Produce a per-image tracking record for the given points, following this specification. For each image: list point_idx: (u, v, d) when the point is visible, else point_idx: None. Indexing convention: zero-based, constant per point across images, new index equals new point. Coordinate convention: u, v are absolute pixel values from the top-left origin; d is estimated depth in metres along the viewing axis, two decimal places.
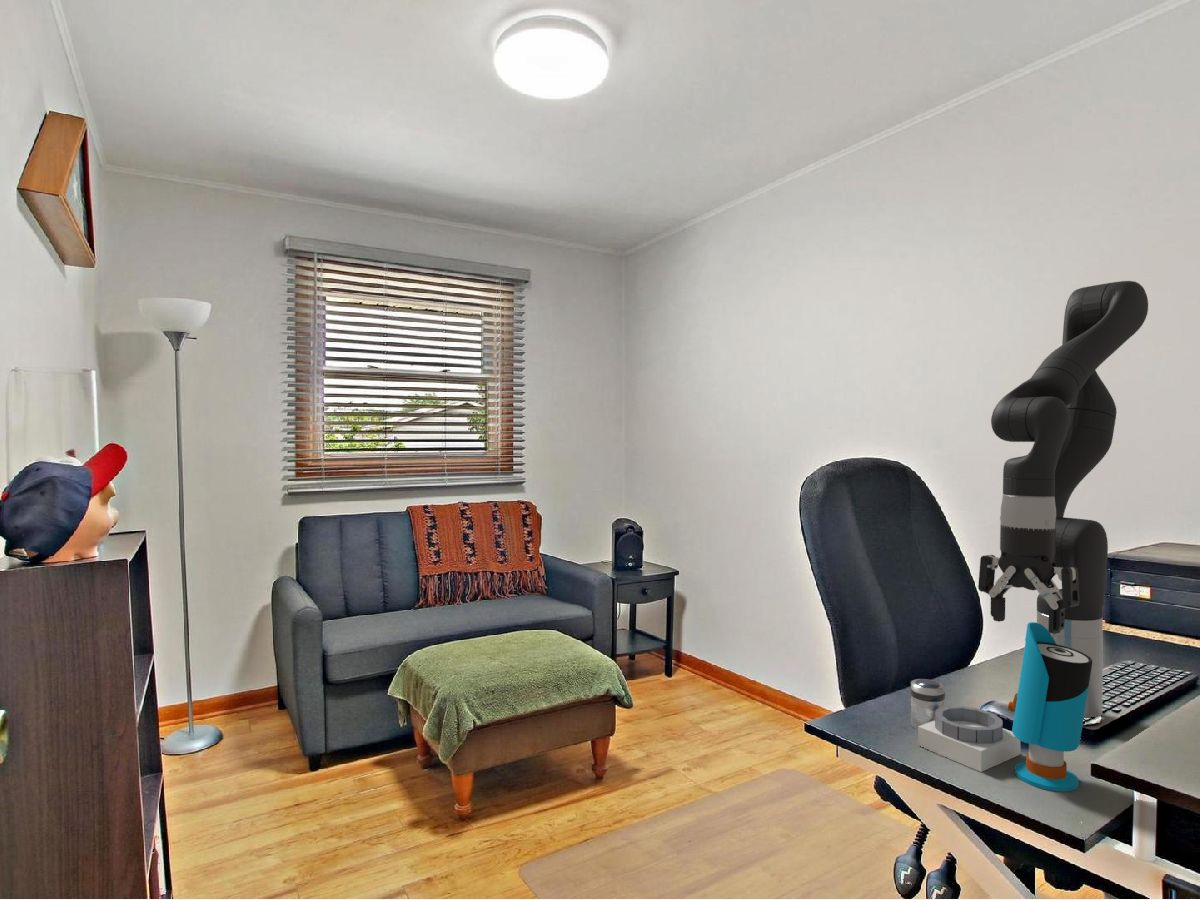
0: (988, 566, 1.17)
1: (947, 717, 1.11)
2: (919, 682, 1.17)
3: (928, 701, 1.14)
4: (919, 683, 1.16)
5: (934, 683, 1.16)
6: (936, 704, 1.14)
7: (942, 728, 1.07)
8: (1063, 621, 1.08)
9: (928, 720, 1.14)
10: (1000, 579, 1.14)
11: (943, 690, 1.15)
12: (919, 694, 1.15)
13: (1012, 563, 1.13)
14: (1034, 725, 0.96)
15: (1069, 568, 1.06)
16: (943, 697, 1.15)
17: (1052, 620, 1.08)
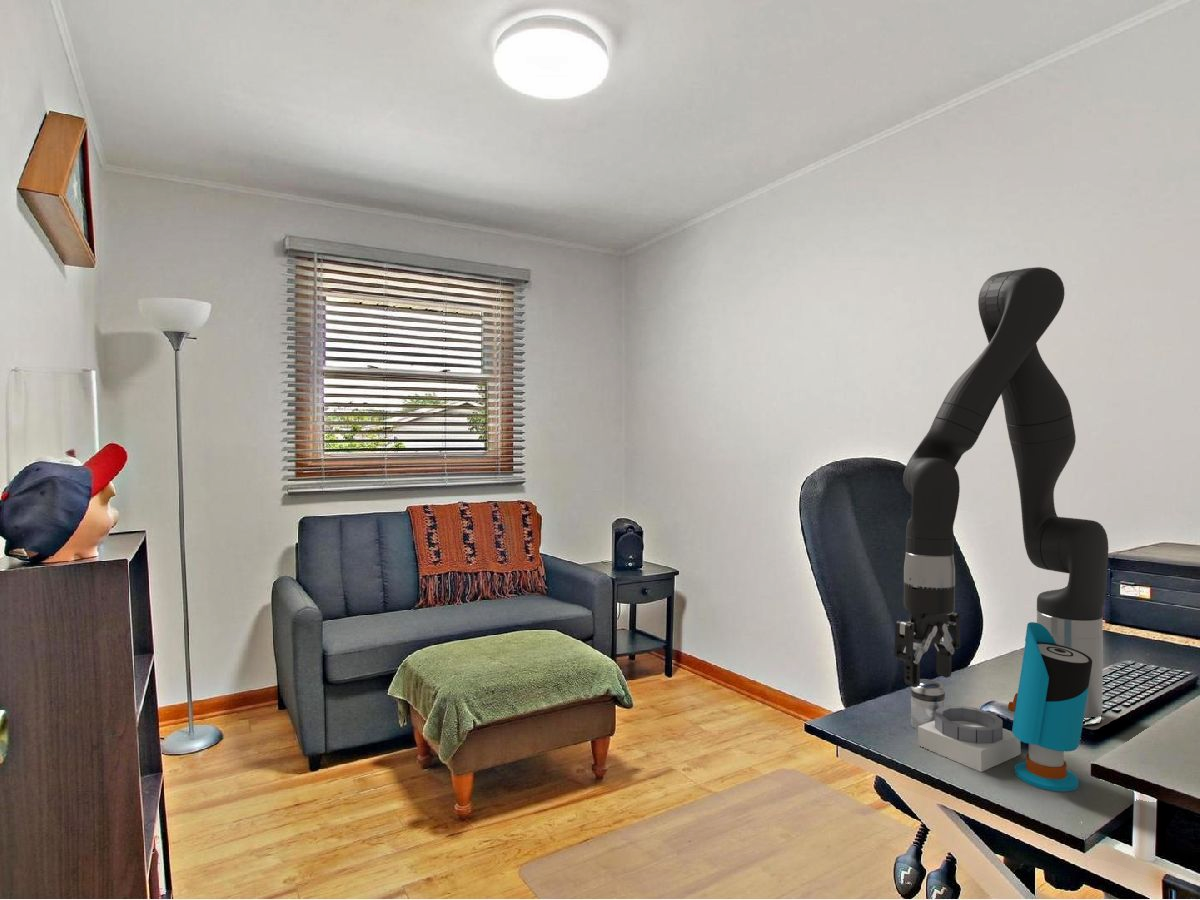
0: (914, 633, 1.11)
1: (947, 717, 1.11)
2: (920, 682, 1.17)
3: (928, 701, 1.14)
4: None
5: (934, 683, 1.16)
6: (936, 704, 1.14)
7: (942, 728, 1.07)
8: None
9: (928, 720, 1.14)
10: (926, 643, 1.12)
11: (943, 690, 1.15)
12: (919, 694, 1.15)
13: (929, 623, 1.14)
14: (1034, 725, 0.96)
15: (956, 613, 1.18)
16: (943, 697, 1.15)
17: (950, 665, 1.17)
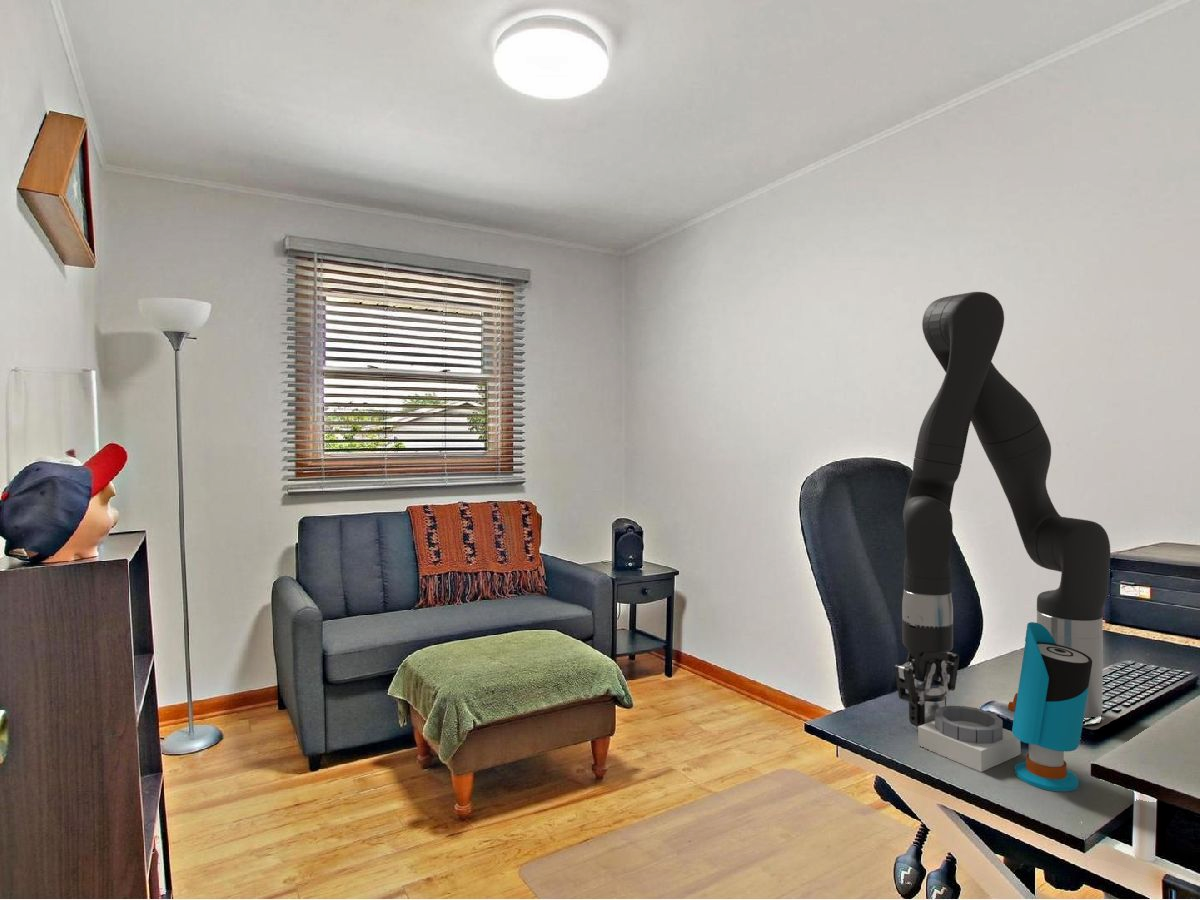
0: (913, 675, 1.13)
1: (947, 717, 1.11)
2: (920, 682, 1.17)
3: (928, 701, 1.14)
4: (919, 683, 1.16)
5: (934, 683, 1.16)
6: (936, 704, 1.14)
7: (942, 728, 1.07)
8: None
9: (928, 719, 1.14)
10: (927, 683, 1.14)
11: (943, 690, 1.15)
12: None
13: (927, 660, 1.14)
14: (1034, 725, 0.96)
15: None
16: (943, 697, 1.15)
17: None
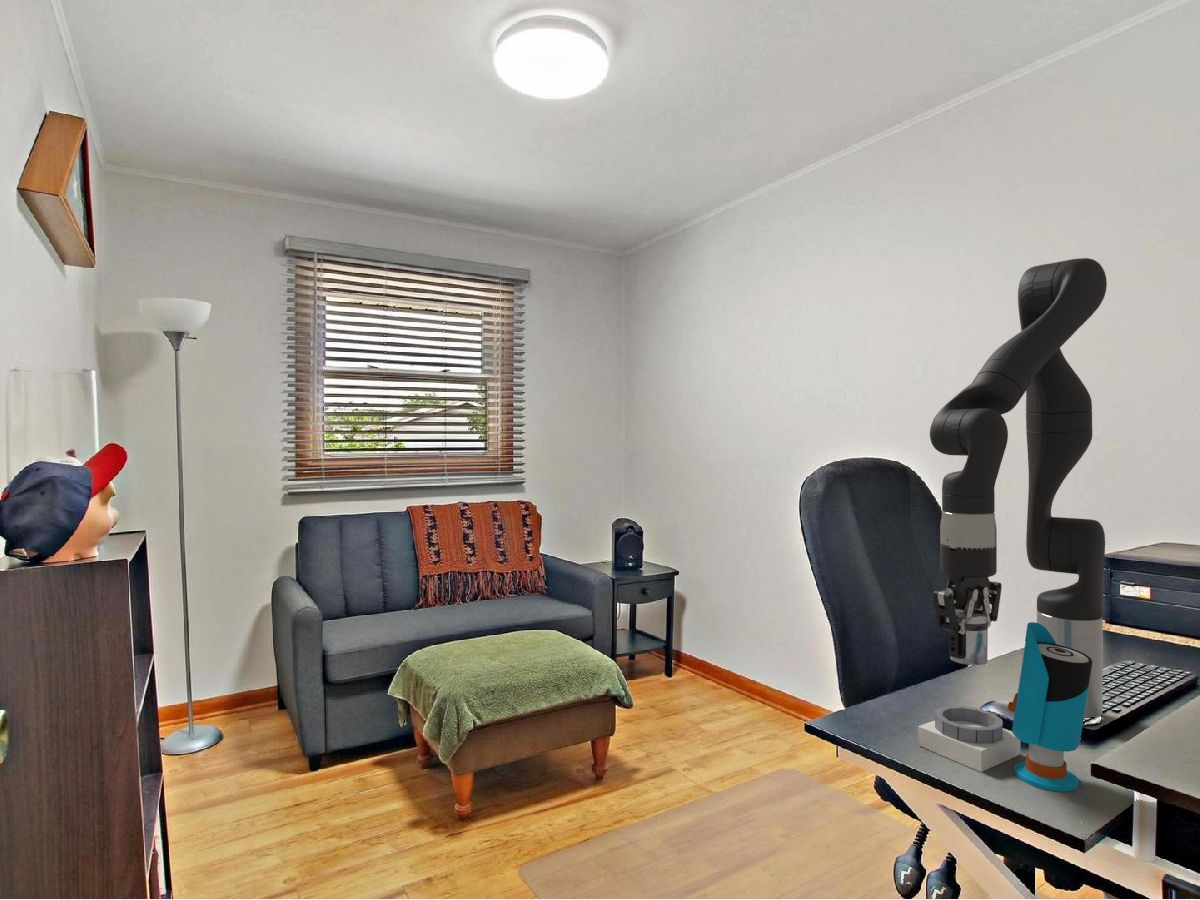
0: (954, 601, 1.04)
1: (947, 717, 1.11)
2: (960, 611, 1.08)
3: (970, 630, 1.05)
4: None
5: (976, 612, 1.07)
6: (978, 634, 1.05)
7: (942, 728, 1.07)
8: None
9: (970, 651, 1.05)
10: (969, 610, 1.05)
11: (986, 619, 1.06)
12: None
13: (968, 586, 1.05)
14: (1034, 725, 0.96)
15: None
16: (986, 626, 1.06)
17: None
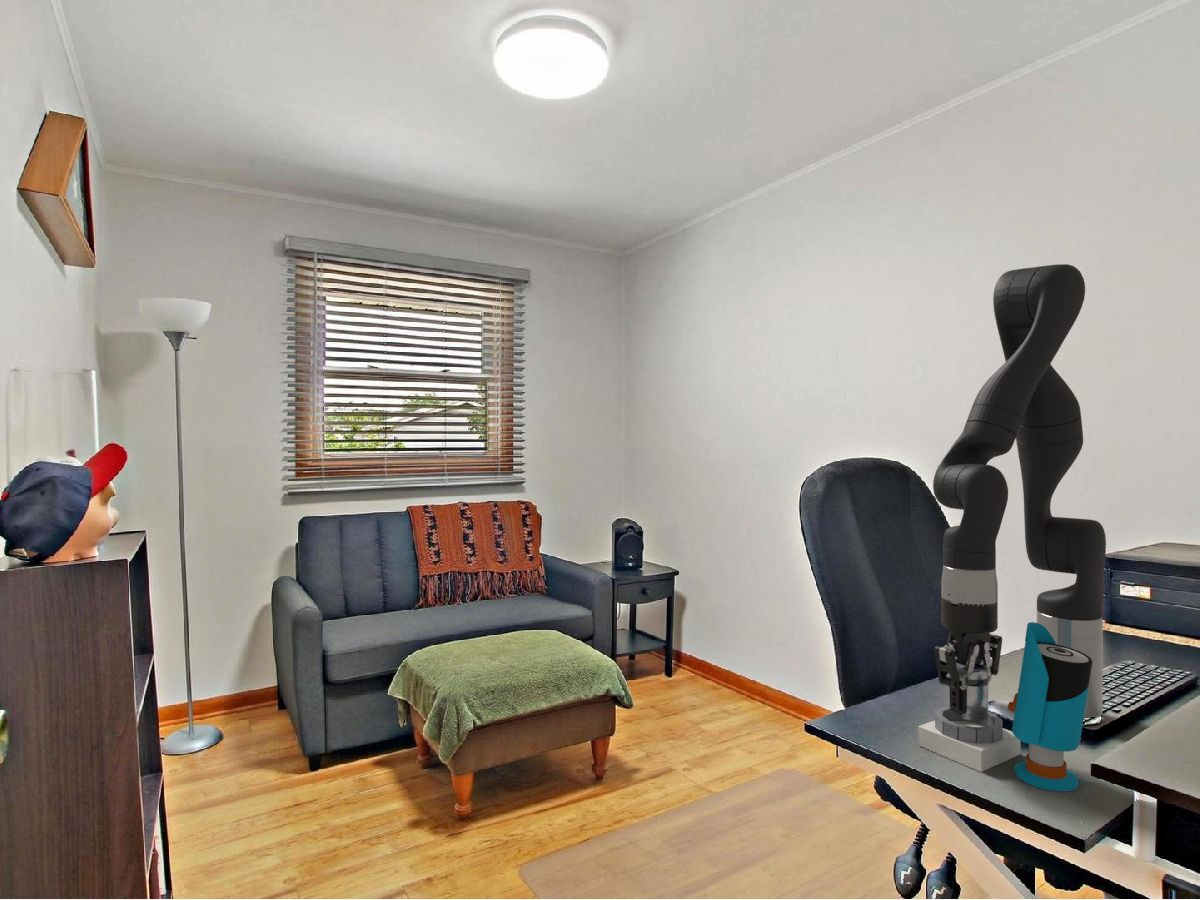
0: (956, 658, 1.04)
1: (947, 717, 1.11)
2: (961, 666, 1.08)
3: (971, 686, 1.05)
4: None
5: (976, 667, 1.07)
6: (979, 689, 1.05)
7: (942, 728, 1.07)
8: None
9: (971, 706, 1.05)
10: (970, 666, 1.05)
11: (987, 674, 1.06)
12: None
13: (969, 642, 1.05)
14: (1034, 725, 0.96)
15: None
16: (987, 682, 1.06)
17: None
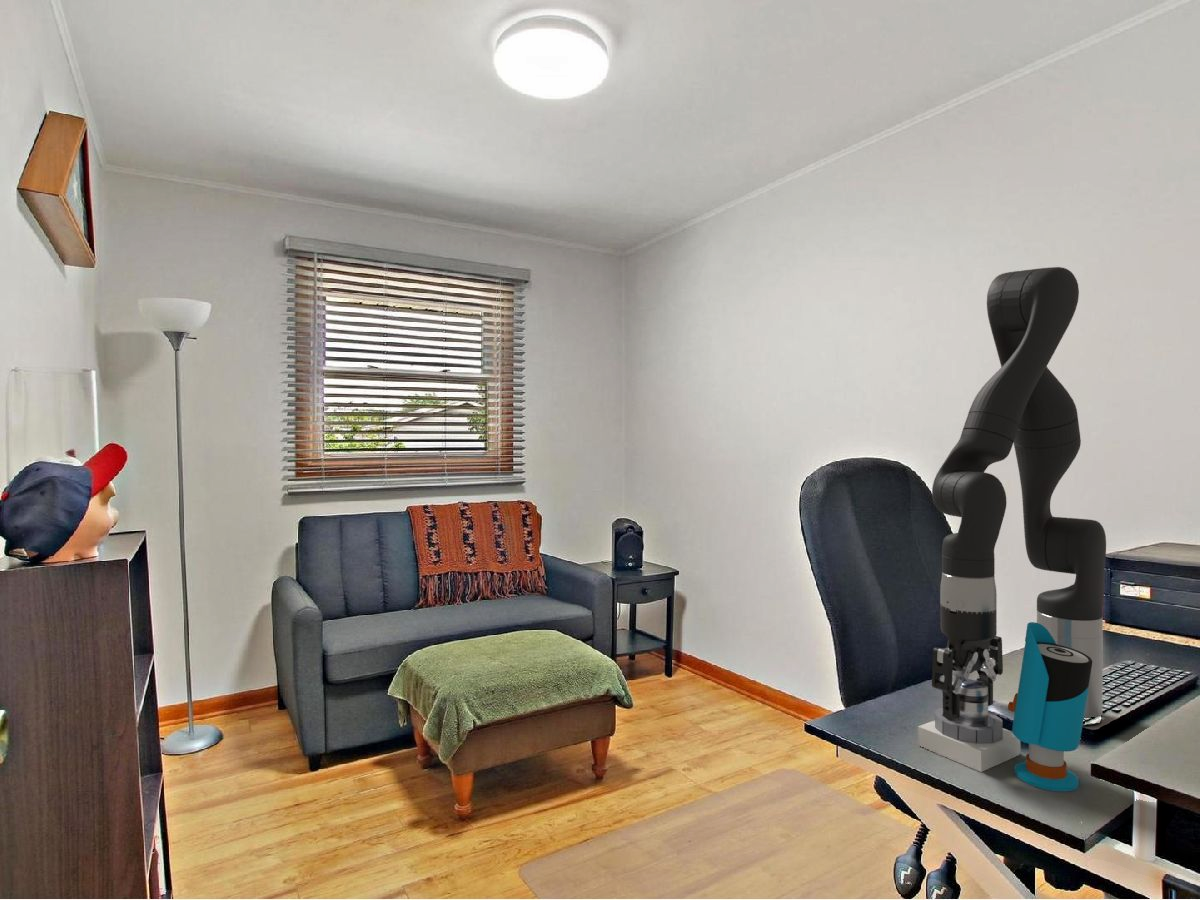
0: (953, 661, 1.04)
1: (947, 717, 1.11)
2: None
3: (971, 703, 1.05)
4: None
5: (976, 683, 1.08)
6: (979, 706, 1.05)
7: (942, 728, 1.07)
8: None
9: (970, 723, 1.06)
10: (966, 671, 1.05)
11: (986, 691, 1.06)
12: (960, 694, 1.06)
13: (968, 649, 1.06)
14: (1034, 725, 0.96)
15: (997, 636, 1.10)
16: (987, 698, 1.06)
17: (992, 692, 1.09)
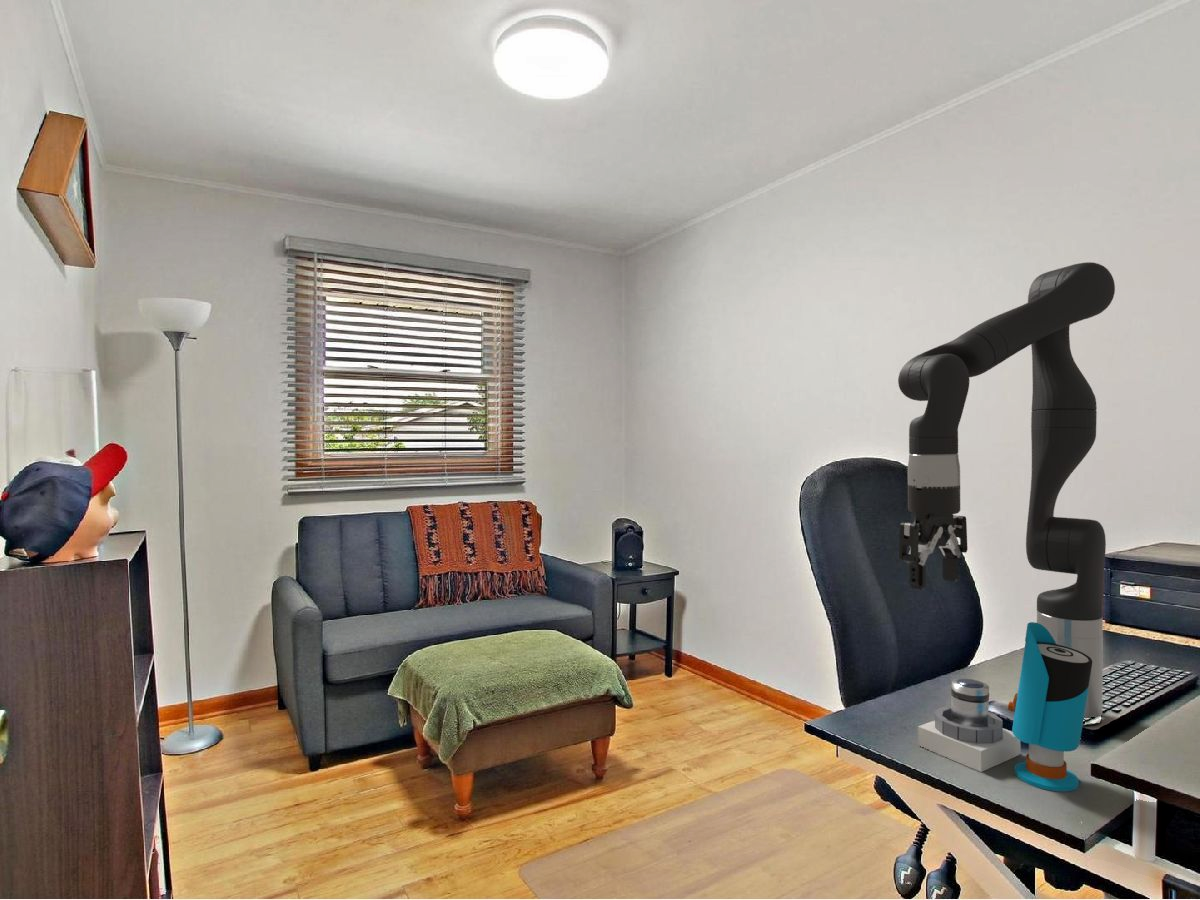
0: (919, 534, 1.09)
1: (947, 717, 1.11)
2: (961, 682, 1.08)
3: (972, 702, 1.05)
4: (961, 682, 1.08)
5: (977, 683, 1.08)
6: (980, 706, 1.05)
7: (942, 728, 1.07)
8: None
9: (971, 722, 1.06)
10: (931, 543, 1.10)
11: (987, 690, 1.06)
12: (962, 694, 1.06)
13: (934, 524, 1.11)
14: (1034, 725, 0.96)
15: None
16: (987, 698, 1.06)
17: (957, 568, 1.14)
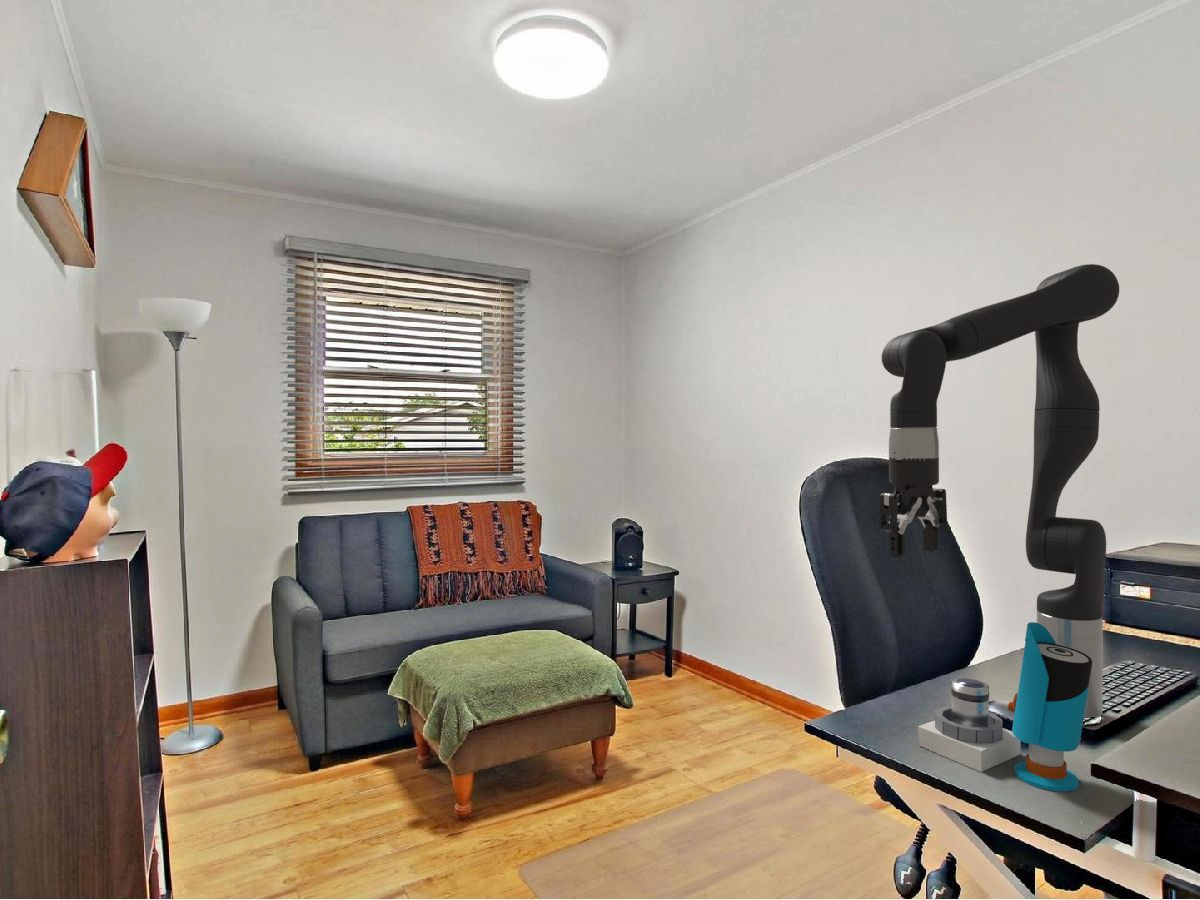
0: (898, 503, 1.13)
1: (947, 717, 1.11)
2: (961, 681, 1.08)
3: (973, 702, 1.05)
4: (961, 682, 1.08)
5: (977, 682, 1.08)
6: (981, 705, 1.05)
7: (942, 728, 1.07)
8: None
9: (972, 722, 1.06)
10: (910, 513, 1.14)
11: (988, 690, 1.06)
12: (962, 694, 1.06)
13: (913, 495, 1.15)
14: (1034, 725, 0.96)
15: (942, 489, 1.20)
16: (988, 697, 1.06)
17: (936, 539, 1.19)
